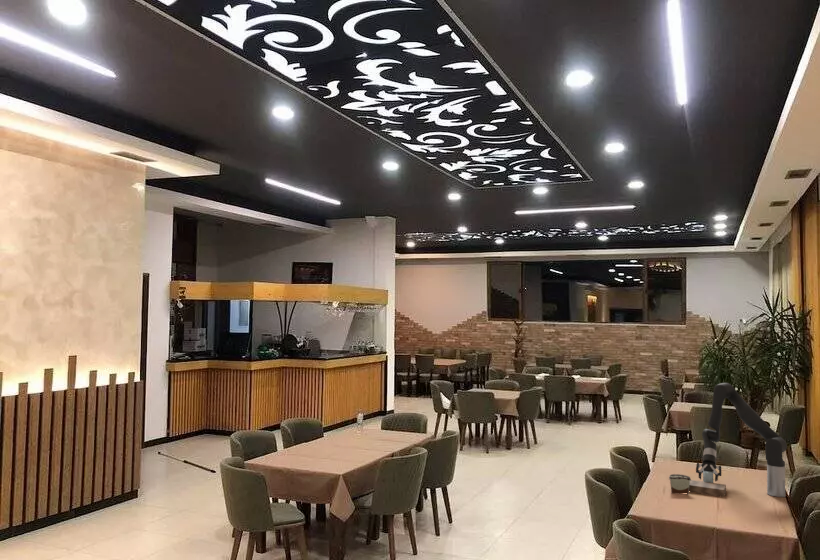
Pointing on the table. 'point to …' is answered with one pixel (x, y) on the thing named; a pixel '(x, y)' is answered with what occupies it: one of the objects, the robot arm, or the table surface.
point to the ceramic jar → (707, 476)
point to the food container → (679, 483)
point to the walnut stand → (707, 488)
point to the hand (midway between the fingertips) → (708, 479)
